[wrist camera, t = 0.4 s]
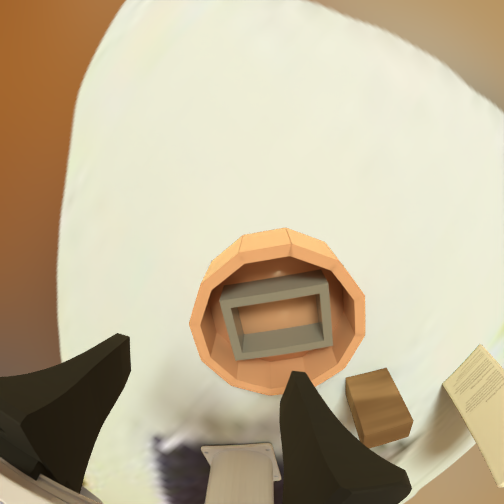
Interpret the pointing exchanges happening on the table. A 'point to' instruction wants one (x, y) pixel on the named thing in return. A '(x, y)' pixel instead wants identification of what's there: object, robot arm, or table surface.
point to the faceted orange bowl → (277, 312)
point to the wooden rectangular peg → (377, 408)
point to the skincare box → (482, 405)
